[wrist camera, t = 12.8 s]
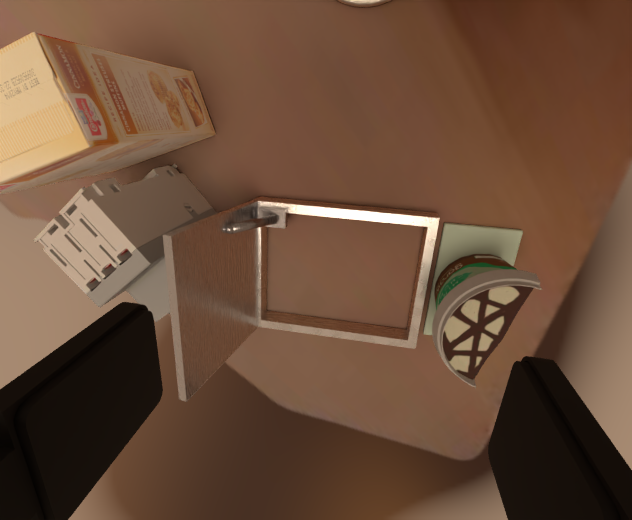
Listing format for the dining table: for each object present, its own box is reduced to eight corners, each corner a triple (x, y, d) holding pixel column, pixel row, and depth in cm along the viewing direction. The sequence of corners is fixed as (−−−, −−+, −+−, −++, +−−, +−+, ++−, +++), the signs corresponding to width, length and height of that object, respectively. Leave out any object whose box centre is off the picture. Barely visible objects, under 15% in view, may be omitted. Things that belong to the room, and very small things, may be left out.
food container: (453, 224, 40) (475, 257, 31) (507, 245, 40) (545, 283, 30) (406, 316, 45) (412, 368, 35) (454, 334, 44) (473, 391, 35)
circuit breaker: (213, 287, 48) (146, 356, 35) (136, 201, 46) (30, 237, 32) (254, 257, 46) (199, 317, 32) (175, 163, 43) (78, 185, 29)
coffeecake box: (193, 68, 39) (33, 26, 21) (218, 135, 41) (93, 150, 23) (82, 114, 43) (-133, 111, 25) (111, 173, 45) (-69, 211, 27)
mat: (443, 222, 40) (444, 223, 40) (521, 229, 39) (523, 231, 39) (423, 331, 46) (423, 334, 45) (490, 340, 45) (492, 343, 44)
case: (238, 194, 43) (161, 235, 28) (436, 212, 40) (469, 269, 25) (240, 313, 49) (178, 400, 34) (413, 337, 46) (429, 443, 31)
